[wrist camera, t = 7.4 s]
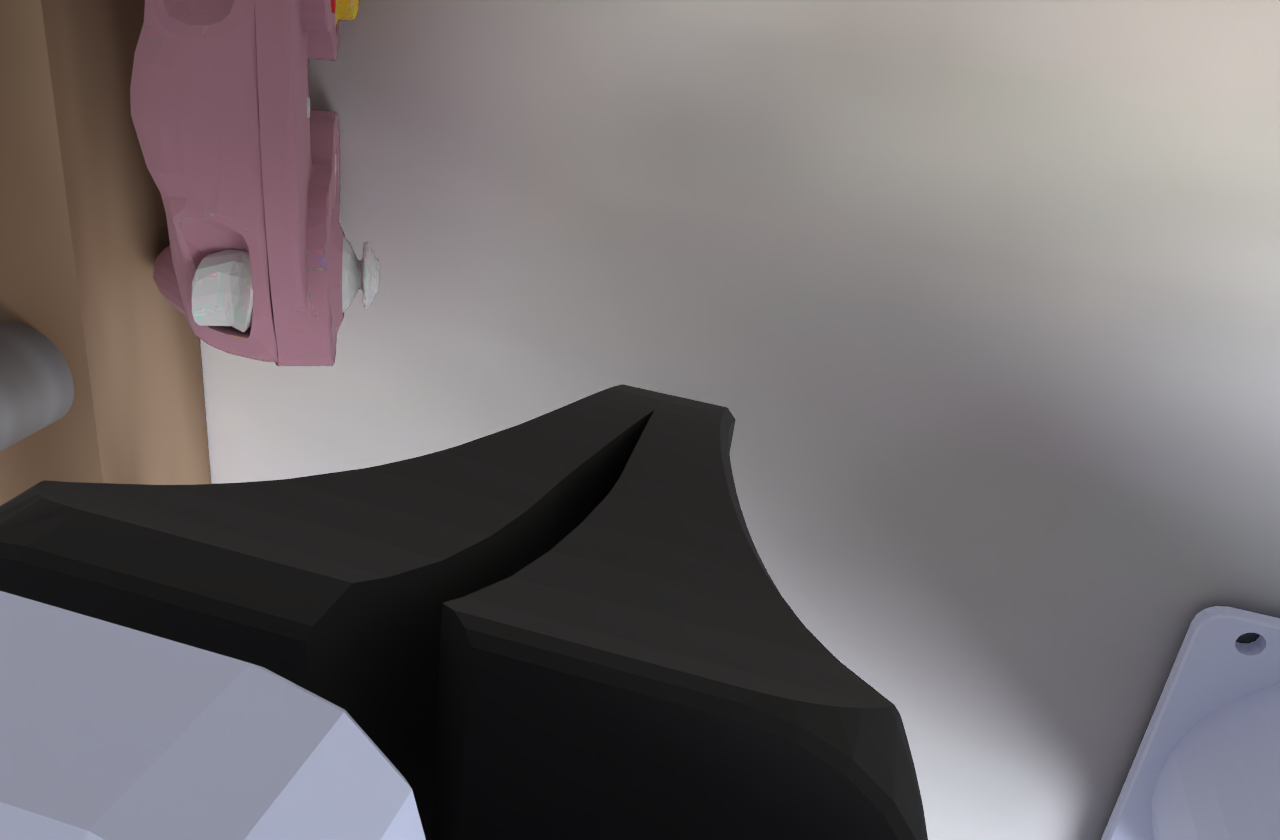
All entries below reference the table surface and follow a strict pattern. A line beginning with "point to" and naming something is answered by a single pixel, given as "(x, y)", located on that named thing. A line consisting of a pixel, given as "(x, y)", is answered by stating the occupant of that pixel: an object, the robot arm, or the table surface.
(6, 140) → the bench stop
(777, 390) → the table surface
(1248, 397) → the table surface
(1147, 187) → the table surface
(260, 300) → the video game controller
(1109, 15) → the table surface
